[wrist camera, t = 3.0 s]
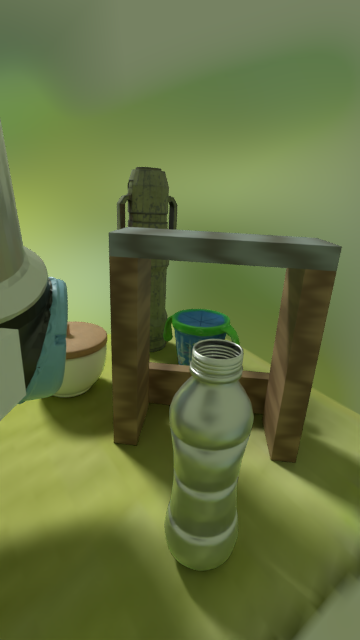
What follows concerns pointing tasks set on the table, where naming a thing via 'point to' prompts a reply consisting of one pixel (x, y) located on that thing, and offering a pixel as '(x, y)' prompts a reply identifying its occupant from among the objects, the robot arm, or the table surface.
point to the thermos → (151, 212)
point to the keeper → (262, 388)
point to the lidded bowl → (82, 358)
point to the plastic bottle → (207, 456)
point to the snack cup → (197, 330)
